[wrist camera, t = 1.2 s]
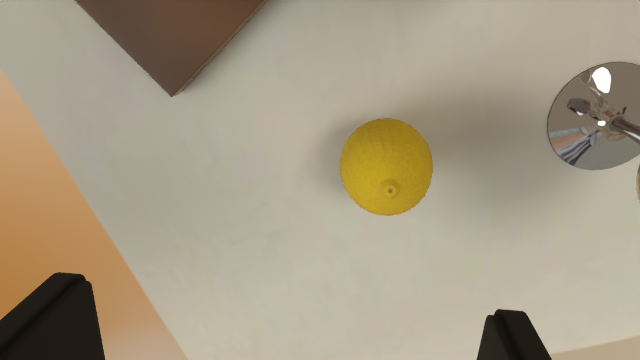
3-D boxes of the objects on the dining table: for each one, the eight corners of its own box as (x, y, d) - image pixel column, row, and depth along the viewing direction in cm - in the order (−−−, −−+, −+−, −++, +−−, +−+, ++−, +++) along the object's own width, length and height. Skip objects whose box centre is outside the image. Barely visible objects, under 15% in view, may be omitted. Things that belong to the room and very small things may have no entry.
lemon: (427, 175, 31) (449, 229, 23) (350, 188, 32) (347, 244, 24) (417, 99, 29) (436, 131, 21) (335, 115, 30) (327, 151, 22)
